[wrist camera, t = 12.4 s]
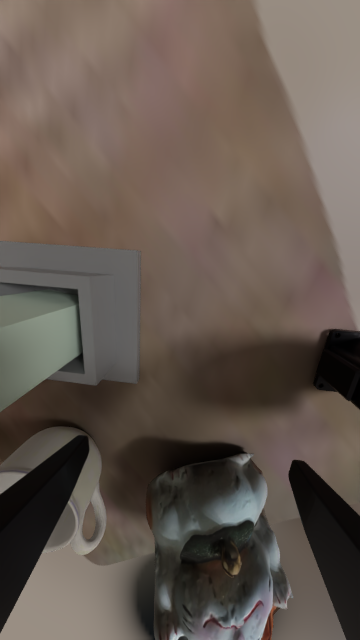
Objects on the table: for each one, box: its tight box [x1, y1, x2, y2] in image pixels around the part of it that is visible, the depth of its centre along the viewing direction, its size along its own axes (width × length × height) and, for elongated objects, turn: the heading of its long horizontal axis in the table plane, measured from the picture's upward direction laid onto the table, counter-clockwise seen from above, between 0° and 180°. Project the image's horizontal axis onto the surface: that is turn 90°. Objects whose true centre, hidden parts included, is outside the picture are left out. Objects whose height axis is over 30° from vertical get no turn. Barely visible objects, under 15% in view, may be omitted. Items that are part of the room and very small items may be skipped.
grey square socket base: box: [0, 241, 141, 386], centre depth 18 cm, size 14×14×5 cm
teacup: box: [0, 426, 106, 555], centre depth 22 cm, size 14×11×8 cm
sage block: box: [0, 289, 83, 412], centre depth 13 cm, size 5×5×13 cm
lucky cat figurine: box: [146, 454, 293, 640], centre depth 19 cm, size 15×12×14 cm
